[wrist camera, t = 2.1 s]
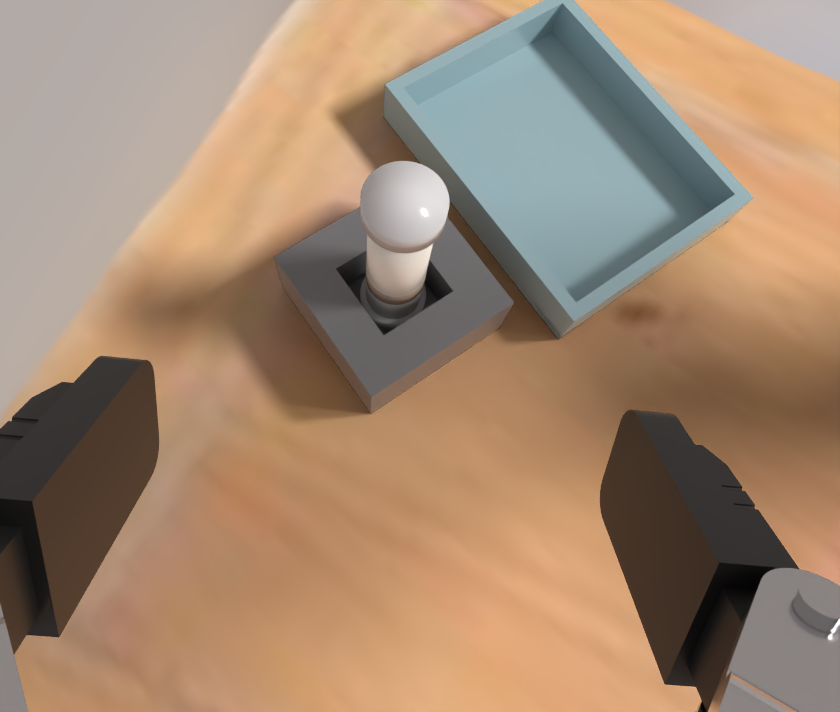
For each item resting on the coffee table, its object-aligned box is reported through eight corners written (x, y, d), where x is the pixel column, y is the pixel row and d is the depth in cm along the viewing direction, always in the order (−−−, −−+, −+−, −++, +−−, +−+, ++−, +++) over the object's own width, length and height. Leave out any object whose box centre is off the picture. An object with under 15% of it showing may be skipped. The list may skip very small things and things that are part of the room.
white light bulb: (400, 261, 37) (415, 146, 27) (436, 309, 37) (466, 211, 26) (347, 292, 37) (343, 187, 26) (383, 343, 36) (393, 255, 25)
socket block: (410, 212, 40) (415, 175, 36) (499, 328, 38) (514, 302, 34) (282, 287, 37) (273, 257, 34) (370, 414, 36) (371, 396, 32)
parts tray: (551, 25, 45) (564, -11, 42) (726, 222, 41) (753, 197, 38) (383, 116, 41) (384, 84, 39) (558, 339, 38) (574, 321, 35)
